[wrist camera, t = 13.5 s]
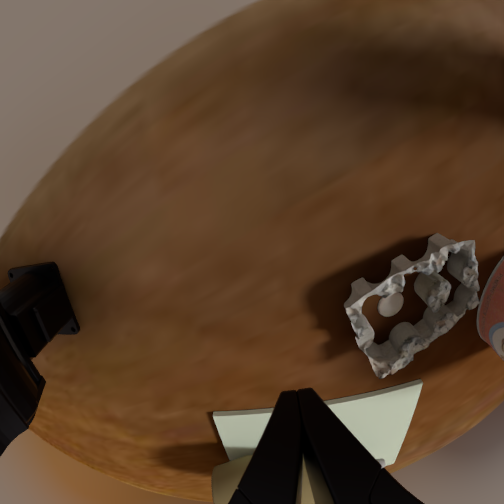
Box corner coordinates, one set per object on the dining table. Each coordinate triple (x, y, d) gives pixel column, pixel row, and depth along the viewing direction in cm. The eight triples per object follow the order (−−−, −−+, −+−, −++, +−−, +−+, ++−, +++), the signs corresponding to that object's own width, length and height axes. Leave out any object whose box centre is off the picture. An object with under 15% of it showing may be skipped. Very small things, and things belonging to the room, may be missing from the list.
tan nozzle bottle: (205, 458, 22) (392, 427, 23) (215, 456, 29) (365, 433, 30) (214, 533, 17) (403, 496, 18) (222, 516, 24) (374, 490, 25)
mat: (240, 483, 30) (240, 487, 30) (213, 411, 25) (212, 416, 24) (392, 460, 29) (393, 463, 28) (420, 378, 24) (422, 382, 23)
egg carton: (359, 353, 23) (374, 386, 19) (331, 281, 21) (346, 310, 17) (463, 297, 21) (488, 320, 18) (451, 220, 19) (483, 235, 15)
